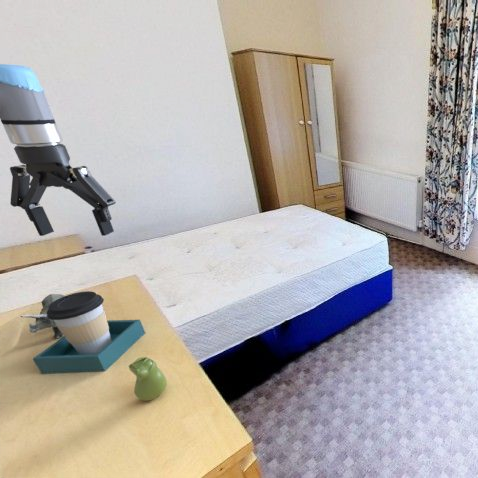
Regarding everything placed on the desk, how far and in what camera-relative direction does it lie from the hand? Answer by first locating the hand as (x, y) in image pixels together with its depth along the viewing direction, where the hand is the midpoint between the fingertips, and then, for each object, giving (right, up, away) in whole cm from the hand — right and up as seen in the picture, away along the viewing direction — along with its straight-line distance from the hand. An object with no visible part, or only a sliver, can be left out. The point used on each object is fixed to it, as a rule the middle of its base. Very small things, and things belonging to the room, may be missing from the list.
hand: (77, 233), depth 78 cm
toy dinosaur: (-15, -26, +11) cm, 32 cm away
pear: (+26, -36, -8) cm, 45 cm away
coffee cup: (+2, -30, +3) cm, 30 cm away
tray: (+2, -30, +3) cm, 30 cm away
